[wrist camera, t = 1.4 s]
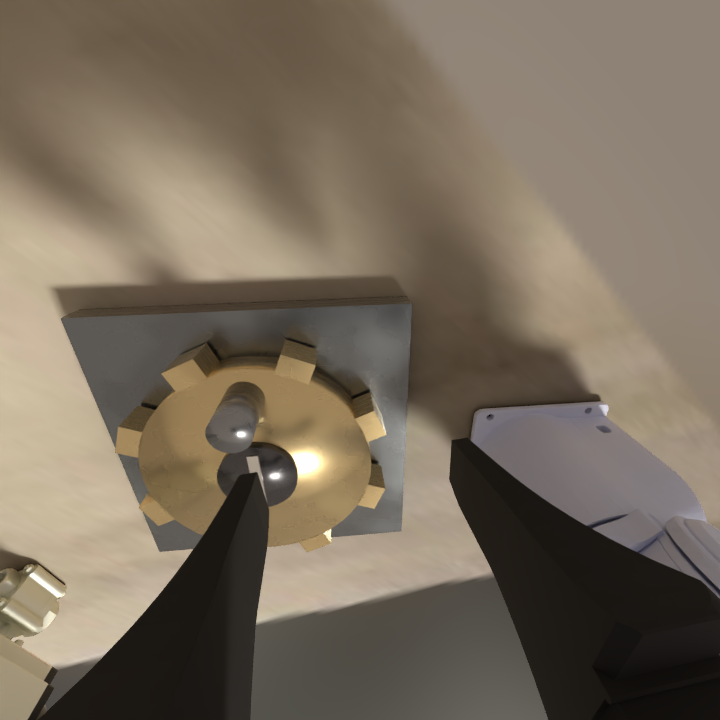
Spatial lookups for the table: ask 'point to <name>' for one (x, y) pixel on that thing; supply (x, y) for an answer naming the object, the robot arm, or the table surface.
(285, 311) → the cap plate
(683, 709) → the robot arm
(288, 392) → the blocky toothed spur gear
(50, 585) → the pneumatic valve
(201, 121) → the table surface
